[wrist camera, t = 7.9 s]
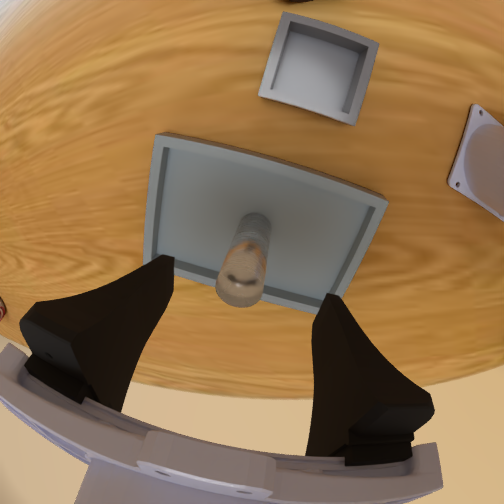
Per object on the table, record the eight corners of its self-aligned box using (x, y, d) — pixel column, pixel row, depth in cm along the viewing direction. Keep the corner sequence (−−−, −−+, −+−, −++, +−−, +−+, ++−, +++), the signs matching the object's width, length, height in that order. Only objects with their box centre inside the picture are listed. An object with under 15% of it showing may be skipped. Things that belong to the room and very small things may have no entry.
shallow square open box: (366, 51, 14) (379, 43, 12) (345, 123, 17) (354, 126, 15) (283, 24, 14) (283, 11, 11) (262, 97, 17) (257, 95, 15)
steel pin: (274, 215, 21) (267, 274, 14) (268, 245, 22) (258, 311, 15) (241, 209, 21) (217, 264, 14) (236, 239, 22) (213, 302, 15)
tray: (382, 194, 19) (389, 201, 18) (328, 305, 25) (330, 317, 24) (164, 132, 19) (155, 134, 18) (150, 255, 25) (143, 264, 23)
